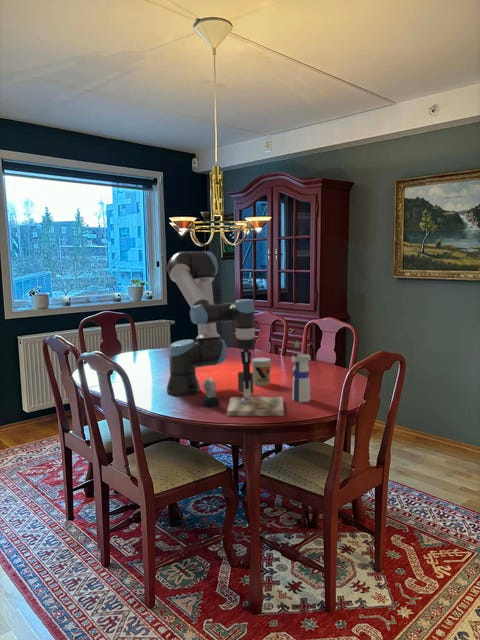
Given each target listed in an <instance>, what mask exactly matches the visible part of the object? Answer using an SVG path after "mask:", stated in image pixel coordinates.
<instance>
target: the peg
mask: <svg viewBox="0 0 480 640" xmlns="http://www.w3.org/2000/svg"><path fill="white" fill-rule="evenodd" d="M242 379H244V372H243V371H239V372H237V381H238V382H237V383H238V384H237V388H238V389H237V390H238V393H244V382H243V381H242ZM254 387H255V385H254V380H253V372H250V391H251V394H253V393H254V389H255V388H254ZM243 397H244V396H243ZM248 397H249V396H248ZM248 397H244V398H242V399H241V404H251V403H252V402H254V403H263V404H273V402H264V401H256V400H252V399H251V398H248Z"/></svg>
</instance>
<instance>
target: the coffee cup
mask: <svg viewBox="0 0 480 640" xmlns="http://www.w3.org/2000/svg"><path fill="white" fill-rule="evenodd" d="M271 363H272V360H271V358H270V357H269V358H268V357H255V358H253V359H252V360H251V367H252V373H253V380H254V386H259V387H260V386H261V387H264V386H269V385H270V382H271V367H272V364H271Z"/></svg>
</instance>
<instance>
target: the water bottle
mask: <svg viewBox="0 0 480 640" xmlns="http://www.w3.org/2000/svg"><path fill="white" fill-rule="evenodd" d="M293 345H294V346H295V347H294V349H297V348H300V345H301V342H298V340H296V342H295V343H293ZM311 360H312V358H311V355H309V354H306V353H297V356H294V355H292V356H291V363H294V366H293V368H292V376H293V379H292V401H294V402H298V403H307V402H310V401H311V385H310V384H311V383H310V382H311V381H310V376H309V374H310V373H309V371H310V367H309V361H311Z"/></svg>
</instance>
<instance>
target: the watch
mask: <svg viewBox="0 0 480 640" xmlns="http://www.w3.org/2000/svg"><path fill="white" fill-rule="evenodd" d="M202 386H203V388H204V390H205V394H206V396H203V398H202V402H203V406H205V408H209V407H217V406H220V398H219V396H217V389H216V381H215V379H214V378H207V379H205V380H204V381H203V383H202Z"/></svg>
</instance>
